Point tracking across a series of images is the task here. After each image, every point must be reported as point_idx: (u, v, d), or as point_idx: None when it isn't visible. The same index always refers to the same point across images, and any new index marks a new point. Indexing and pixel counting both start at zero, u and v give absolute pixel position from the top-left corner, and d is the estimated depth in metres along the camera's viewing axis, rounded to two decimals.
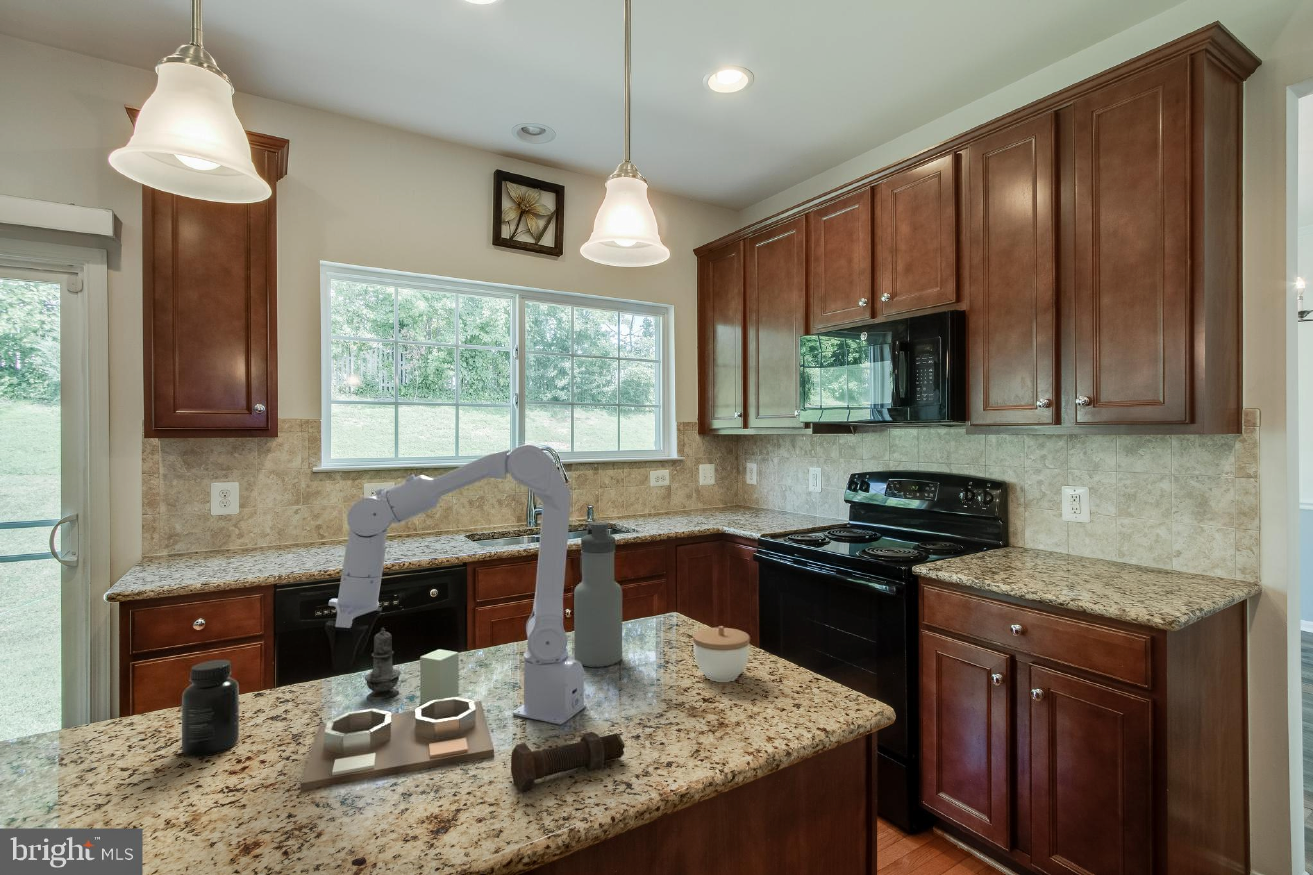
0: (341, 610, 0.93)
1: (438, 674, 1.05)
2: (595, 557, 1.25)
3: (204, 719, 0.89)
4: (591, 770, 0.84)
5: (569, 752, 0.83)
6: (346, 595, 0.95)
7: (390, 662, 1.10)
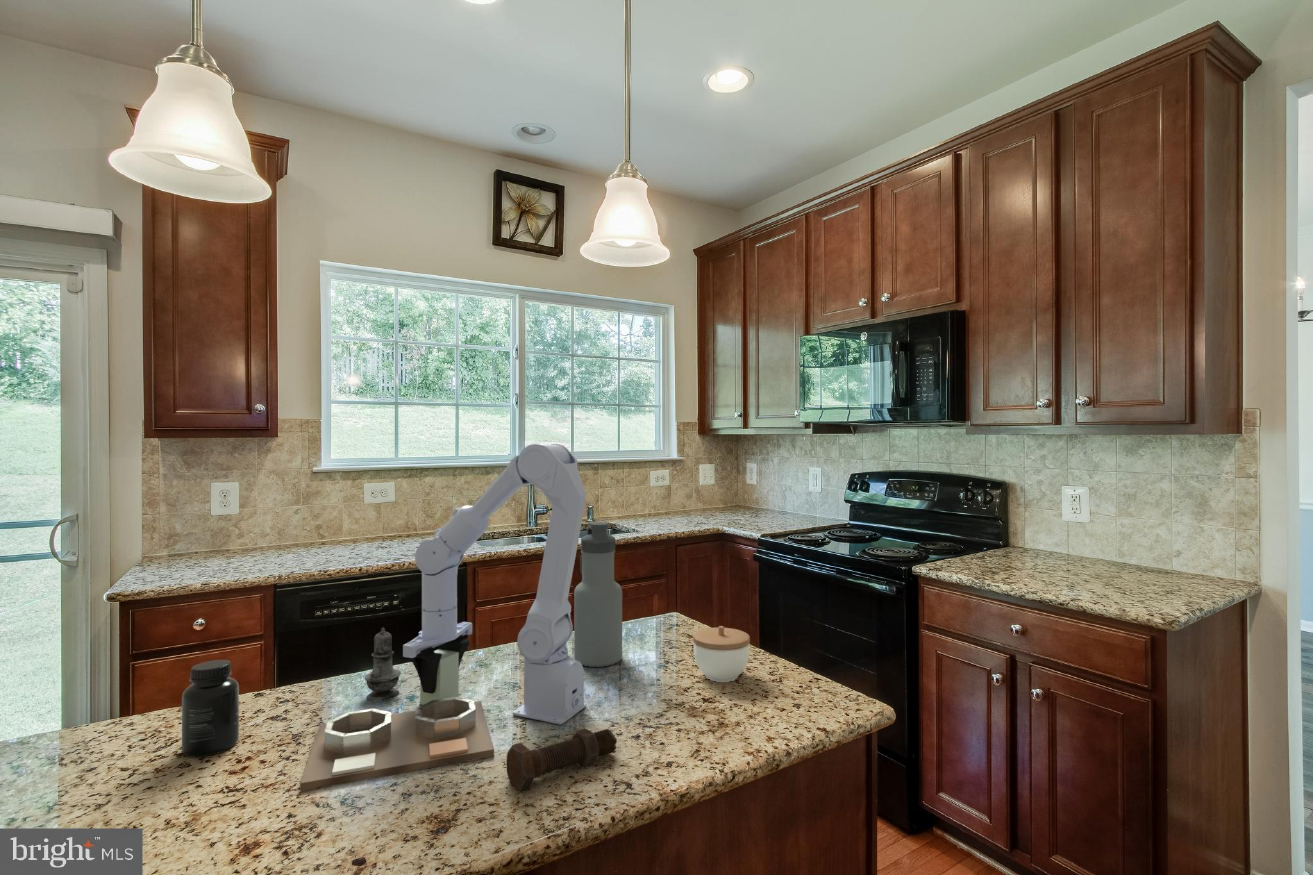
0: (414, 641, 1.04)
1: (438, 674, 1.05)
2: (595, 557, 1.25)
3: (204, 719, 0.89)
4: (586, 766, 0.85)
5: (565, 750, 0.84)
6: (423, 627, 1.06)
7: (390, 662, 1.10)
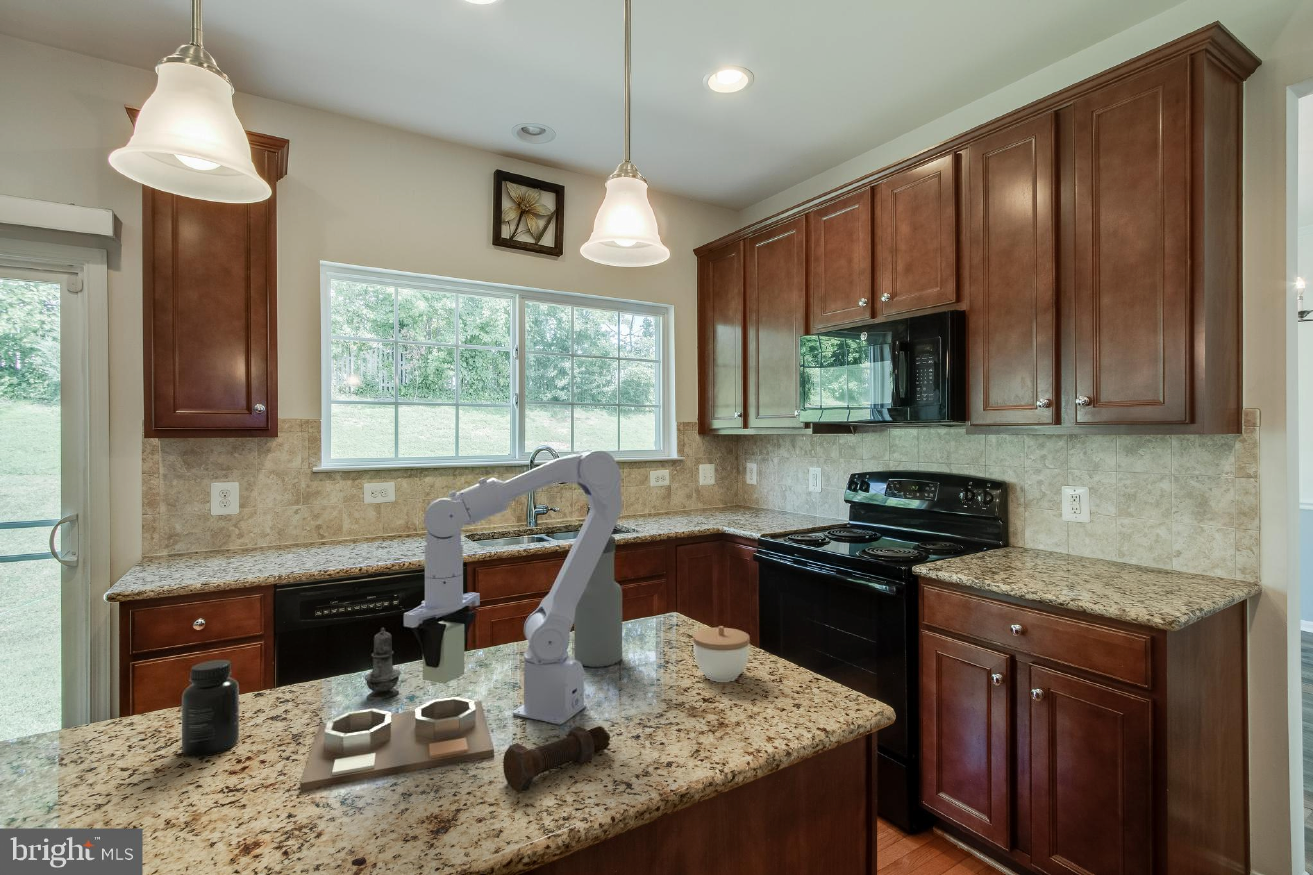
0: (416, 610, 0.95)
1: (442, 646, 0.96)
2: None
3: (204, 719, 0.89)
4: (581, 763, 0.86)
5: (562, 748, 0.84)
6: (425, 595, 0.97)
7: (390, 662, 1.10)
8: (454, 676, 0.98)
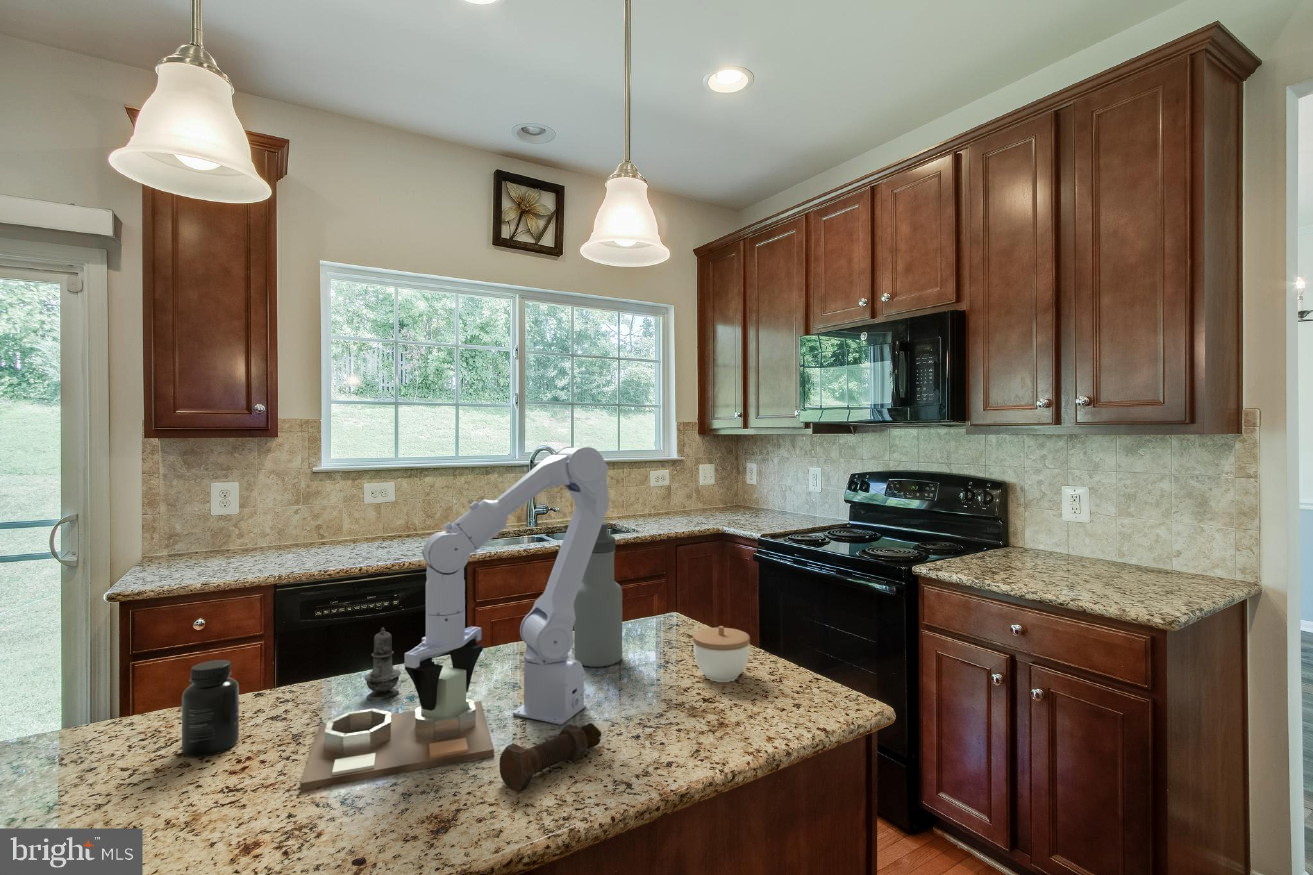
0: (416, 649, 0.93)
1: (444, 695, 0.94)
2: (595, 557, 1.25)
3: (204, 719, 0.89)
4: (575, 760, 0.87)
5: (557, 746, 0.85)
6: (427, 633, 0.95)
7: (390, 662, 1.10)
8: None
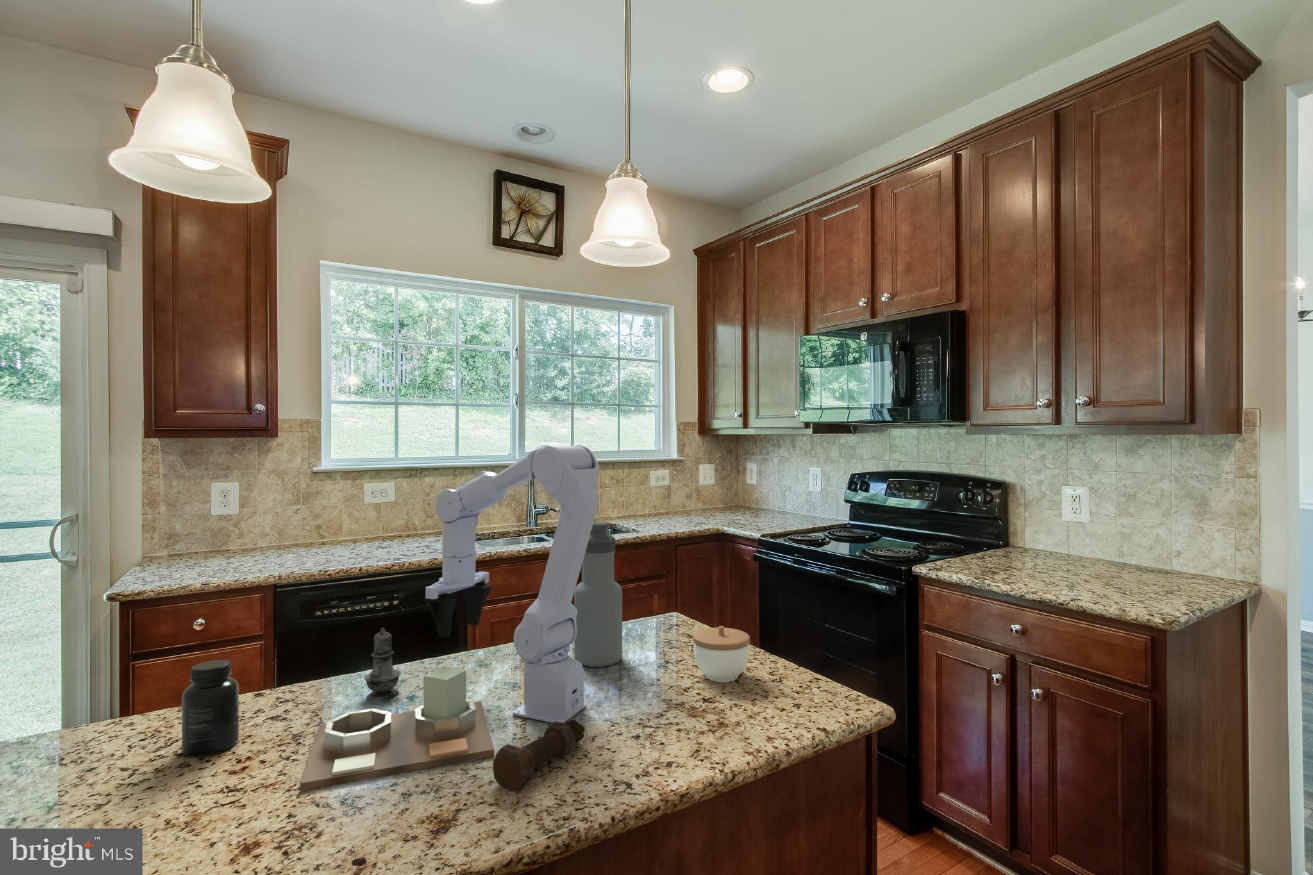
0: (435, 585, 1.10)
1: (444, 695, 0.94)
2: (595, 557, 1.25)
3: (204, 719, 0.89)
4: (564, 756, 0.88)
5: (548, 743, 0.86)
6: (443, 573, 1.12)
7: (390, 662, 1.10)
8: None
